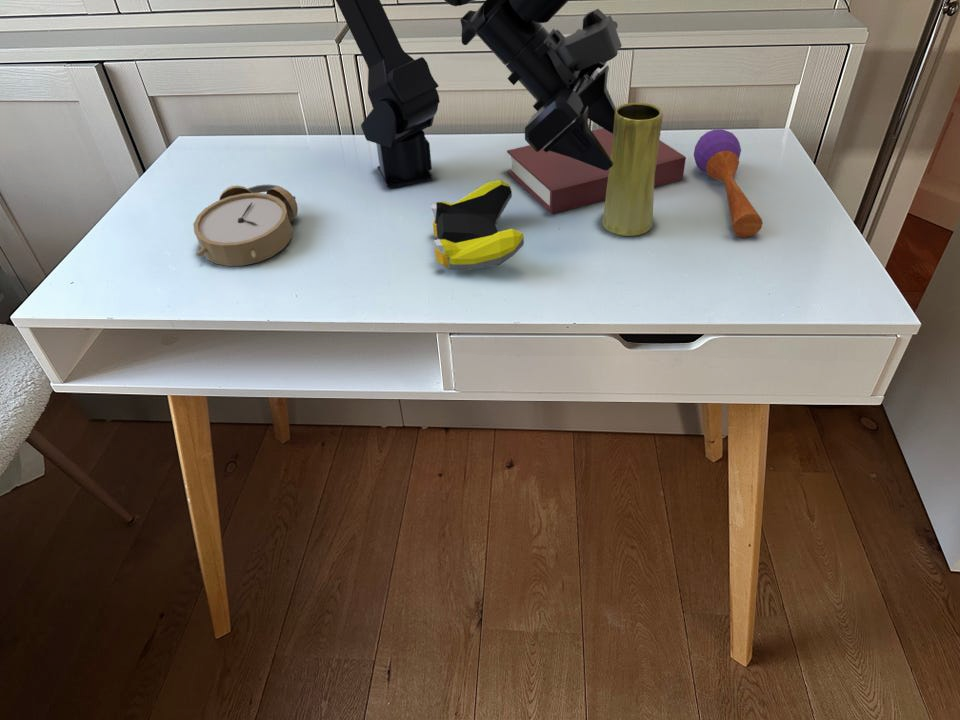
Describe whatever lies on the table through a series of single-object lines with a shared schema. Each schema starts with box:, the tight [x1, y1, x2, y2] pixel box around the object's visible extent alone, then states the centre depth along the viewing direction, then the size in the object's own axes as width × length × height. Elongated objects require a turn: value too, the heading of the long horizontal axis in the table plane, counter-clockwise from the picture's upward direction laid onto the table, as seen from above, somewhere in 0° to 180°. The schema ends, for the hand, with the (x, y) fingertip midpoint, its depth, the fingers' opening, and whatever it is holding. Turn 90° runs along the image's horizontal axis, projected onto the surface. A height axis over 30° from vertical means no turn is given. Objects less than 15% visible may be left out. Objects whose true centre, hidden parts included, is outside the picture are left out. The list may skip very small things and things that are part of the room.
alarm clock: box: [193, 184, 299, 267], centre depth 90 cm, size 11×5×15 cm
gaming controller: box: [430, 179, 525, 271], centre depth 85 cm, size 15×6×10 cm
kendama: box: [693, 128, 764, 239], centre depth 91 cm, size 6×6×20 cm
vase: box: [601, 102, 663, 237], centre depth 84 cm, size 6×6×14 cm
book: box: [506, 128, 687, 215], centre depth 98 cm, size 20×13×3 cm, turn 113°
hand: (616, 150), depth 83 cm, fingers open, 9 cm apart
